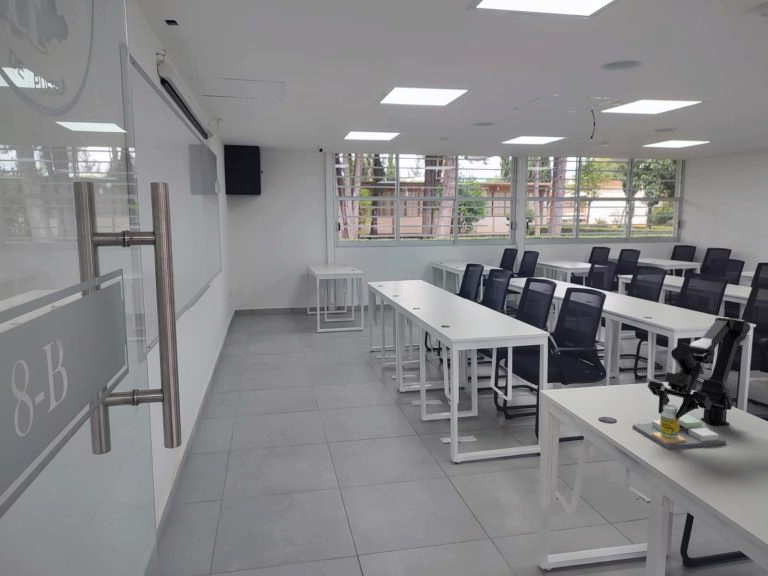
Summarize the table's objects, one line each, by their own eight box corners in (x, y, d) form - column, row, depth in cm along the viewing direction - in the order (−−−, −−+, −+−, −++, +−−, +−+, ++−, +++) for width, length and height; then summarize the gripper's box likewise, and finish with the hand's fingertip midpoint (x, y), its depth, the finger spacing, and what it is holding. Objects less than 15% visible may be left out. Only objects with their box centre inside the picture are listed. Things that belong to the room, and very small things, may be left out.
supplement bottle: (679, 434, 173) (681, 406, 172) (676, 439, 169) (678, 410, 168) (661, 430, 176) (663, 402, 175) (657, 435, 172) (659, 407, 171)
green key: (677, 417, 190) (677, 409, 189) (702, 430, 178) (702, 421, 178) (662, 418, 189) (662, 410, 188) (686, 431, 177) (686, 423, 177)
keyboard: (685, 423, 188) (686, 415, 188) (725, 443, 171) (726, 435, 170) (632, 427, 185) (632, 419, 185) (667, 449, 167) (668, 440, 167)
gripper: (651, 357, 180) (631, 394, 175) (709, 369, 164) (688, 411, 159) (663, 375, 185) (644, 412, 180) (720, 389, 169) (700, 429, 165)
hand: (667, 415), depth 171 cm, fingers closed on supplement bottle, 5 cm apart
